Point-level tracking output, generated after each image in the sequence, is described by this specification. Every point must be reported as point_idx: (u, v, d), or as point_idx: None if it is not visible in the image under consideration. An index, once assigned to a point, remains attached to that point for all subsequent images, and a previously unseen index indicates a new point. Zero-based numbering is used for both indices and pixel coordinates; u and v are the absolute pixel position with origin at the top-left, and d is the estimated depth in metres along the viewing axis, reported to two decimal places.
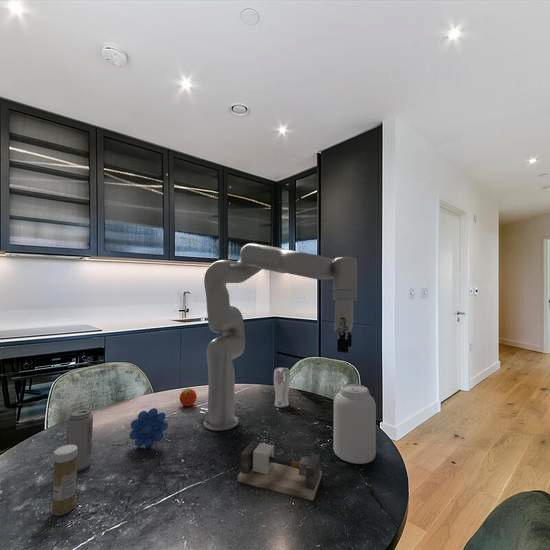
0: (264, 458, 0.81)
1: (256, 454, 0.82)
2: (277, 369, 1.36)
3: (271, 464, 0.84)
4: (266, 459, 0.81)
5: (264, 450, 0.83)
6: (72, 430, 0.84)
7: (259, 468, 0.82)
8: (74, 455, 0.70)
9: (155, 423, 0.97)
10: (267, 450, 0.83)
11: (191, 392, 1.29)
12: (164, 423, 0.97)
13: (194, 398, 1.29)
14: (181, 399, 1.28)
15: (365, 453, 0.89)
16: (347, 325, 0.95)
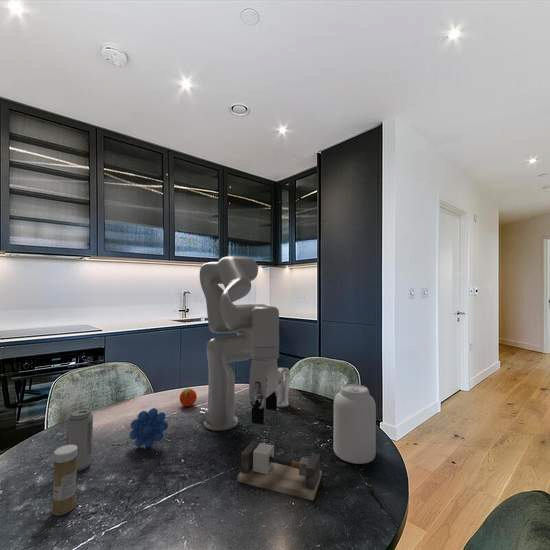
0: (264, 458, 0.81)
1: (256, 454, 0.82)
2: None
3: (271, 464, 0.84)
4: (266, 459, 0.81)
5: (264, 450, 0.83)
6: (72, 430, 0.84)
7: (259, 468, 0.82)
8: (74, 455, 0.70)
9: (155, 423, 0.97)
10: (267, 450, 0.83)
11: (191, 392, 1.29)
12: (164, 423, 0.97)
13: (194, 398, 1.29)
14: (181, 399, 1.28)
15: (365, 453, 0.89)
16: (262, 391, 0.79)
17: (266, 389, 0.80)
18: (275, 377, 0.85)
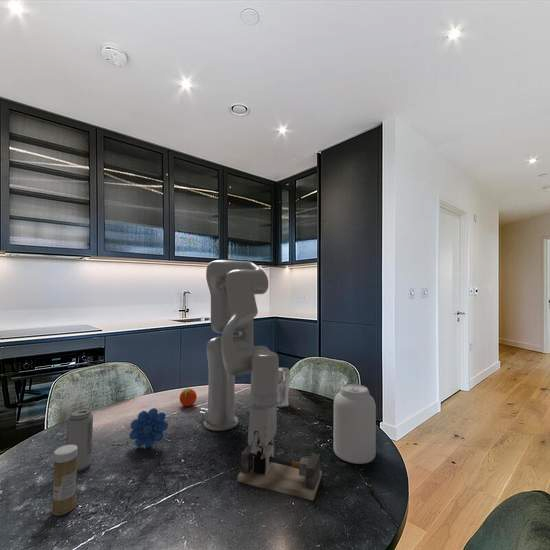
0: None
1: None
2: None
3: (271, 464, 0.84)
4: (266, 459, 0.81)
5: None
6: (72, 430, 0.84)
7: None
8: (74, 455, 0.70)
9: (155, 423, 0.97)
10: (267, 450, 0.83)
11: (191, 392, 1.29)
12: (164, 423, 0.97)
13: (194, 398, 1.29)
14: (181, 399, 1.28)
15: (365, 453, 0.89)
16: (262, 444, 0.79)
17: (265, 438, 0.80)
18: (274, 423, 0.85)
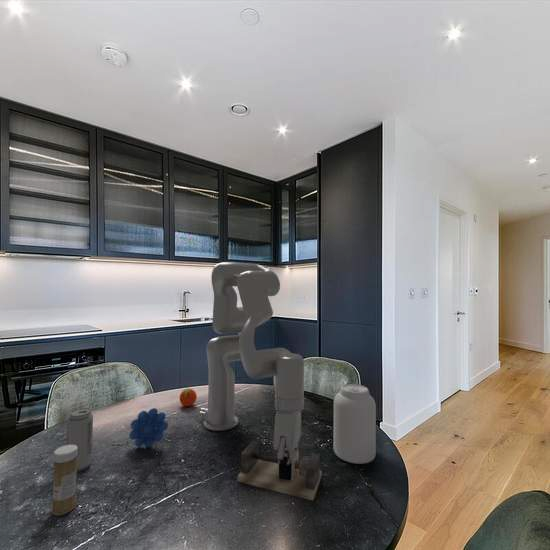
0: None
1: None
2: None
3: (296, 470, 0.82)
4: (292, 465, 0.79)
5: None
6: (72, 430, 0.84)
7: None
8: (74, 455, 0.70)
9: (155, 423, 0.97)
10: (292, 455, 0.81)
11: (191, 392, 1.29)
12: (164, 423, 0.97)
13: (194, 398, 1.29)
14: (181, 399, 1.28)
15: (365, 453, 0.89)
16: None
17: (291, 444, 0.77)
18: (299, 427, 0.83)
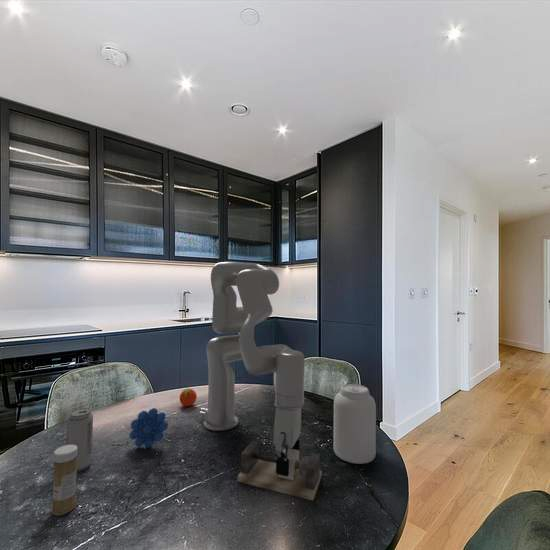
0: (290, 464, 0.79)
1: None
2: None
3: (297, 470, 0.82)
4: (292, 465, 0.79)
5: (290, 455, 0.81)
6: (72, 430, 0.84)
7: None
8: (74, 455, 0.70)
9: (155, 423, 0.97)
10: (292, 455, 0.81)
11: (191, 392, 1.29)
12: (164, 423, 0.97)
13: (194, 398, 1.29)
14: (181, 399, 1.28)
15: (365, 453, 0.89)
16: (288, 442, 0.77)
17: (291, 440, 0.77)
18: (299, 423, 0.83)
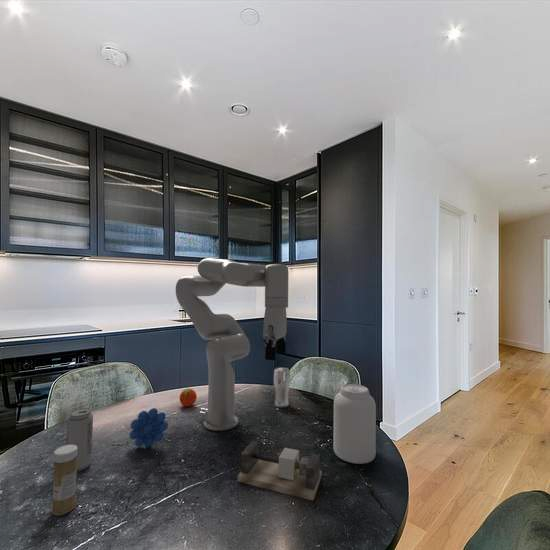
0: (290, 464, 0.79)
1: (282, 460, 0.80)
2: (277, 369, 1.36)
3: (297, 470, 0.82)
4: (292, 465, 0.79)
5: (290, 455, 0.81)
6: (72, 430, 0.84)
7: (285, 474, 0.79)
8: (74, 455, 0.70)
9: (155, 423, 0.97)
10: (292, 455, 0.81)
11: (191, 392, 1.29)
12: (164, 423, 0.97)
13: (194, 398, 1.29)
14: (181, 399, 1.28)
15: (365, 453, 0.89)
16: (274, 333, 0.95)
17: (277, 331, 0.95)
18: (285, 324, 1.01)
